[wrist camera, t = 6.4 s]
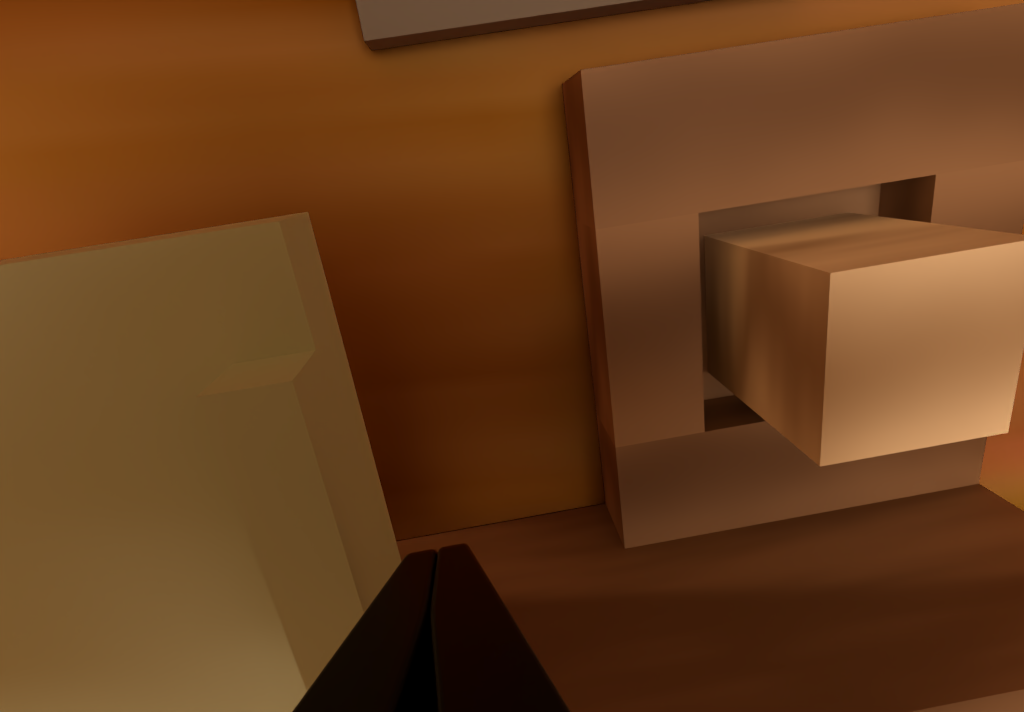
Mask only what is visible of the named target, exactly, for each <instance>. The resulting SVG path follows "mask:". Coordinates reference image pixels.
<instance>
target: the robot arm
mask: <svg viewBox="0 0 1024 712" xmlns="http://www.w3.org/2000/svg"><path fill="white" fill-rule="evenodd" d="M292 712H571V711H570V710H569V708H568V707H567V705H566V703H565V702H564V700H563V698H562V697H561V695H560V694H559V692H558V690H557V689H556V687H555V685H554V684H553V682H552V681H551V679H550V677H549V676H548V674H547V672H546V671H545V669H544V668H543V666H542V664H541V663H540V661H539V659H538V658H537V656H536V655H535V653H534V651H533V650H532V648H531V646H530V645H529V643H528V641H527V640H526V638H525V637H524V635H523V633H522V632H521V630H520V628H519V627H518V625H517V624H516V622H515V620H514V619H513V617H512V615H511V614H510V612H509V611H508V609H507V607H506V606H505V604H504V602H503V601H502V599H501V598H500V596H499V594H498V593H497V591H496V589H495V588H494V586H493V584H492V583H491V581H490V580H489V578H488V576H487V575H486V573H485V571H484V570H483V568H482V567H481V565H480V563H479V562H478V560H477V558H476V557H475V555H474V554H473V552H472V550H471V549H470V547H469V546H468V545H467V544H465V543H461V544H456V545H450V546H445V547H441V548H440V549H439V550H438V552H437V551H436V550H435V549H429V550H423V551H418V552H412V553H409V554H407V555H406V556H405V557H404V559H403V560H402V561H401V563H400V564H399V566H398V567H397V568H396V570H395V571H394V572H393V574H392V575H391V577H390V578H389V579H388V581H387V582H386V583H385V585H384V586H383V587H382V589H381V590H380V592H379V593H378V594H377V596H376V597H375V598H374V600H373V601H372V603H371V604H370V605H369V607H368V608H367V609H366V611H365V612H364V614H363V615H362V616H361V618H360V619H359V620H358V622H357V623H356V625H355V626H354V627H353V629H352V630H351V631H350V633H349V634H348V636H347V637H346V638H345V640H344V641H343V642H342V644H341V645H340V647H339V648H338V649H337V651H336V652H335V653H334V655H333V656H332V658H331V659H330V660H329V662H328V663H327V664H326V666H325V667H324V669H323V670H322V671H321V673H320V674H319V675H318V677H317V678H316V680H315V681H314V682H313V684H312V685H311V686H310V688H309V689H308V691H307V692H306V693H305V695H304V696H303V697H302V699H301V700H300V701H299V703H298V704H297V706H296V707H295V708H294V710H293V711H292Z"/></svg>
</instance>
